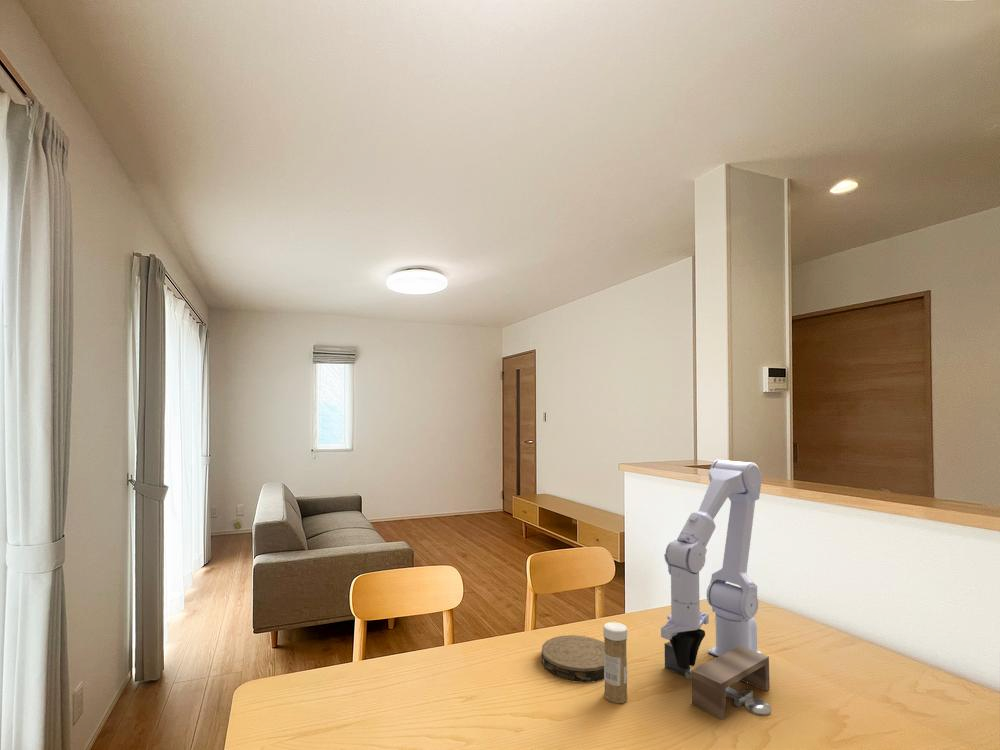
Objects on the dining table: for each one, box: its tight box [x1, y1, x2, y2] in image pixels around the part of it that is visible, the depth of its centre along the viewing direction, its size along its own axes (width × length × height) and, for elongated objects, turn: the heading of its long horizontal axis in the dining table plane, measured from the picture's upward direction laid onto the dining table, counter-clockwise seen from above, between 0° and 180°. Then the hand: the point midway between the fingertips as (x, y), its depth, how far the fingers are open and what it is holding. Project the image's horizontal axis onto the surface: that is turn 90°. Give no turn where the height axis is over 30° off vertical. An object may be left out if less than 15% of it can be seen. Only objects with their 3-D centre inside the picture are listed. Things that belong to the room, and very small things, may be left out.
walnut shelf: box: [690, 646, 771, 720], centre depth 101 cm, size 18×6×6 cm, turn 127°
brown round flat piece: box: [541, 634, 605, 683], centre depth 113 cm, size 16×16×3 cm
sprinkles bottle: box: [602, 621, 629, 704], centre depth 100 cm, size 5×5×13 cm
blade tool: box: [664, 641, 754, 708], centre depth 105 cm, size 18×5×5 cm, turn 37°
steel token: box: [744, 698, 772, 716], centre depth 96 cm, size 4×4×1 cm
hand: (686, 665), depth 109 cm, fingers closed on blade tool, 2 cm apart
